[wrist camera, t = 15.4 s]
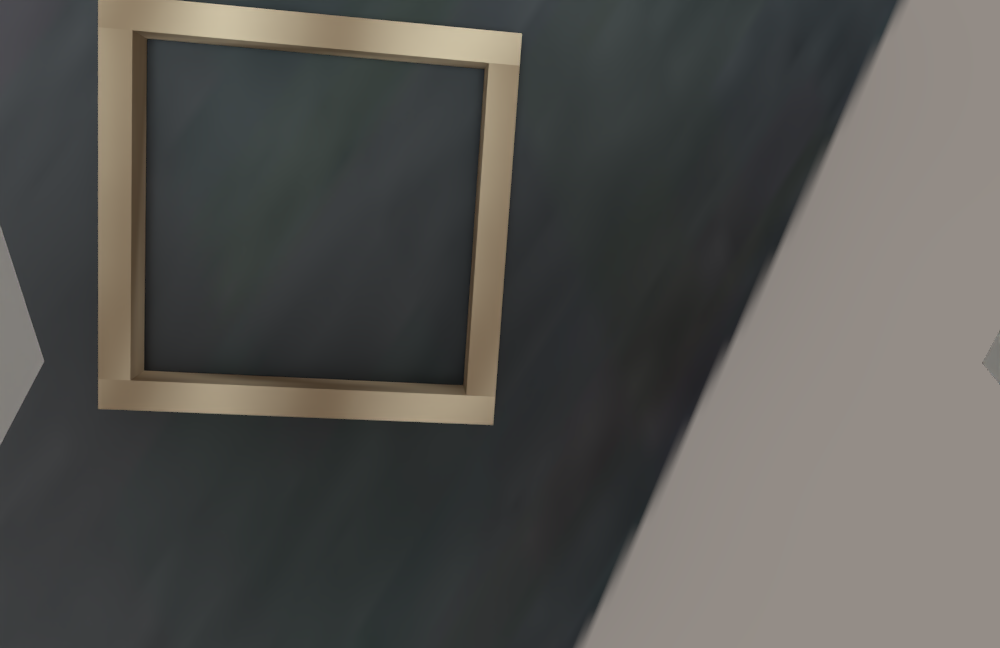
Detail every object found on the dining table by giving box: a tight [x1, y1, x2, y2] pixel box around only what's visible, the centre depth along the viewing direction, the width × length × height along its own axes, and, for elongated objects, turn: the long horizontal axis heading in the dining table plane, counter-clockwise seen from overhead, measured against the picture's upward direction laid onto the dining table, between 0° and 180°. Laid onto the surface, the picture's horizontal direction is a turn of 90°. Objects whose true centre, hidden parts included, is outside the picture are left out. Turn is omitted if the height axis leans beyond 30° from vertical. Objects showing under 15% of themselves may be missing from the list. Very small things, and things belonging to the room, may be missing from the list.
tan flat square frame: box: [98, 0, 522, 425], centre depth 28 cm, size 13×13×2 cm
